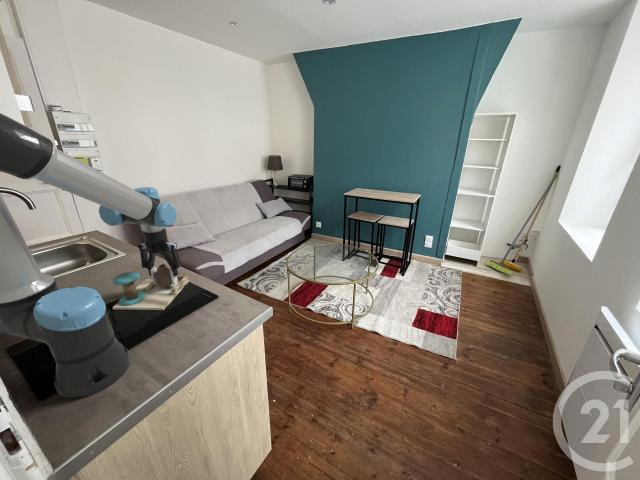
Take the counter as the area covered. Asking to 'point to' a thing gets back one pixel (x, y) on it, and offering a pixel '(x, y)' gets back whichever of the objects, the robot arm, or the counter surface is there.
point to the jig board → (146, 293)
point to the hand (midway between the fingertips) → (165, 282)
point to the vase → (163, 276)
